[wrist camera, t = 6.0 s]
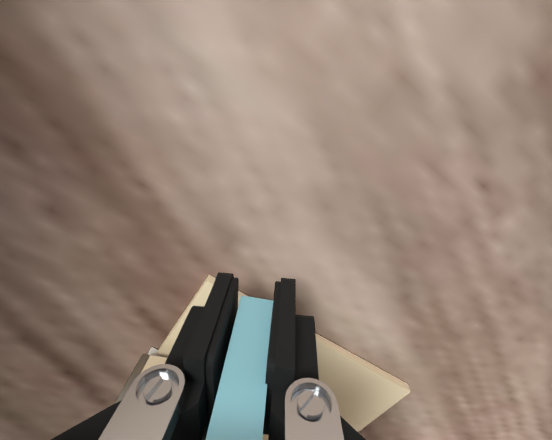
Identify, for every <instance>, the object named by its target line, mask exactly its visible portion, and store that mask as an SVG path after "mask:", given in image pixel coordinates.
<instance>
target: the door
mask: <svg viewBox="0 0 552 440" xmlns="http://www.w3.org/2000/svg"><path fill="white" fill-rule="evenodd" d="M272 309H273V300H267V299H260V298H254V297H248V296H241V299H240V303H239V307H238V311H237V315H236V319H235V323H234V327H233V331H232V335H231V339H230V343H229V347H228V351H227V355H226V359H225V363H224V367H223V371H222V375H221V379H220V383H219V387H218V391H217V395H216V399H215V403H214V407H213V411H212V415H211V419H210V423H209V427H208V432H207V436H206V440H263V435H264V434H263V427H264V416H265V404H266V393H267V384H265V379H266V366H267V356H268V347H269V337H270V328H271V318H272ZM166 360H167V358H165V357H159V356H152V355H148V354H143V355H142V356H141V357H140V359H139V361H138V363H137V364H136V366H135V368H134V370H133V372H132V373H131V375H130V377H129V379H128V381H127V382H126V384H125V386H124V388H123V390H122V391H121V393H120V395H119V397H118V398H117V400H116V402H115V403H117V402H119V401H121V400H122V399H123V398H124V396H125V394H126V393H127V391H128V389H129V388H130V386H131V384H132V383H133V381H134V380H135V379H136V377H137V376H138V375H139V374H141V373H142V372H143V371H144V370H146V369H148V368H150V367H152V366H155V365H159V364H165V362H166Z"/></svg>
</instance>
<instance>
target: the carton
mask: <svg viewBox="0 0 552 440" xmlns="http://www.w3.org/2000/svg"><path fill="white" fill-rule="evenodd" d="M215 279H216V278H214V277H212V276H211V275H208V277H207V278H206V280H205V281H204V283H203V284H202V286H201V287H200V289H199V290H198V291H197V293H196V294H195V296H194V297H193V299H192V300H191V302H190V303H189V305H188V306H187V308H186V309H185V311H184V312H183V314H182V315H181V317H180V318H179V320H178V321H177V323H176V324H175V326H174V327H173V329H172V330H171V332H170V333H169V334H168V336H167V337H166V339H165V340H164V342H163V343H162V345H161V347H160V348H159V350H157V349H155V348H153V347H151V349H150V350H149V352H148V353H147V354H148V355H152V356H159V357H165V358H168V356H169V354H170V351H171V349H172V347H173V345H174V343H175V341H176V339H177V337H178V334H179V332H180V330H181V328H182V326H183V324H184V322H185V320H186V317H187V315H188V313H189V311H190V309H191V307H192V306H205V304H206V301H207V299H208V296H209V294H210V292H211V289H212V287H213V284H214V282H215ZM241 296H247V295H245V294H243V293H242V292H240V291H238V307H239V303H240V299H241ZM248 297H249V296H248ZM315 335H316V348H317V361H318V375H319V381H321V382H323V383H325V384H326V385H327V386H328V387H330V388H331V390H332V391H333V393H334V394H335V396H336V399H337V402H338V408H339V413H340V416H341V417H342V418H343V419H344V420H345V421H347V422H348V423H349V424H350V425H351V426H352V427H353V428H354V429H355V430H356V431H357V432H359V431H360V430H361V429H363V428H364V427H365V426H367V425H368V424H369V423H371V422H372V421H373V420H375V419H376V418H377V417H378V416H380V415H381V414H382V413H384V412H385V411H386V410H388V409H389V408H390V407H392V406H393V405H394V404H395V403H397V402H398V401H399V400H401V399H402V398H403V397H405V396H406V395H407V394H409V393H410V392H411V391H410V389H409V386H408V384H407V383H405V382H403V381H401V380H400V379H398V378H396V377H394V376H392V375H391V374H389V373H387V372H385V371H383V370H381V369H380V368H378V367H376V366H374V365H372V364H371V363H369V362H367V361H365V360H363V359H361V358H360V357H358V356H356V355H354V354H352V353H351V352H349V351H347V350H345V349H343V348H342V347H340V346H338V345H336V344H334V343H332V342H331V341H329V340H327V339H325V338H323V337H322V336H320V335H318V334H316V333H315ZM268 436H269V435H265V434H264V435H263V440H268Z"/></svg>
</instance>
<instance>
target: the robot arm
mask: <svg viewBox="0 0 552 440" xmlns="http://www.w3.org/2000/svg"><path fill="white" fill-rule="evenodd" d="M295 282H296V281H295V279H287V278H281V282H277V281H275V290H274V300H273V309H272V318H271V328H270V337H269V347H268V356H267V366H266V379H265V384H267V393H266V404H265V416H264V427H263V434H265V435H269V436H268V440H365V439H364V438H363V437H362V436H361V435H360V434H359V433H358V432H357V431H356V430H355V429H354V428H353V427H352V426H351V425H350V424H349V423H348V422H347V421H345V420H344V419H343V418H342V417H341V416H340V413H339V408H338V402H337V399H336V396H335V394H334V393H333V391H332V390H331V388H330V387H328V386H327V385H326V384H325V383H323V382H321V381H319V375H318V361H317V348H316V335H315V322H314V316H303V315H295ZM237 311H238V278H234V276H233V274H230V273H218V275H217V277H216V279H215V282H214V284H213V287H212V289H211V292H210V294H209V296H208V299H207V301H206V304H205V306H192V307H191V309H190V311H189V313H188V315H187V317H186V320H185V322H184V324H183V326H182V328H181V330H180V332H179V334H178V337H177V339H176V341H175V343H174V345H173V347H172V349H171V351H170V354H169V356H168V358H167V360H166V362H165V364H159V365H155V366H152V367H150V368H148V369H146V370H144V371H143V372H142V373H141V374H139V375H138V376H137V377H136V379H135V380H134V381H133V383H132V384H131V386H130V388H129V389H128V391H127V393H126V394H125V396H124V398H123V399H122V400H121V401H119V402H117V403H115V404H114V405H112V406H110V407H108V408H106V409H105V410H103V411H101V412H99V413H98V414H96V415H94V416H92V417H90V418H89V419H87V420H85V421H83V422H82V423H80V424H78V425H76V426H74V427H73V428H71V429H69V430H67V431H66V432H64V433H62V434H60V435H58V436H57V437H55V438H53V439H51V440H206V436H207V432H208V427H209V423H210V419H211V415H212V411H213V407H214V403H215V399H216V395H217V391H218V387H219V383H220V379H221V375H222V371H223V367H224V363H225V359H226V355H227V351H228V347H229V343H230V339H231V335H232V331H233V327H234V323H235V319H236V315H237Z"/></svg>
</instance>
